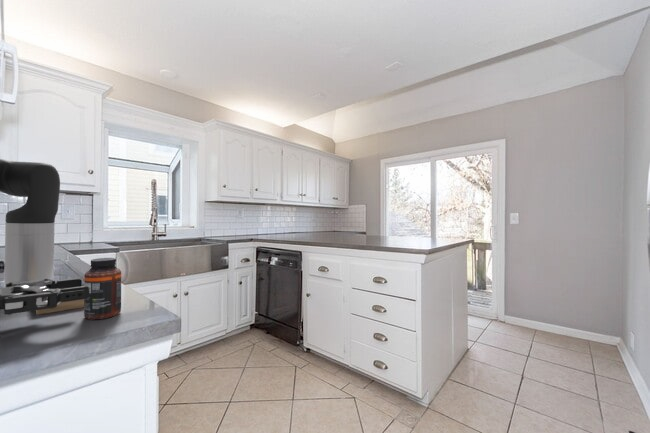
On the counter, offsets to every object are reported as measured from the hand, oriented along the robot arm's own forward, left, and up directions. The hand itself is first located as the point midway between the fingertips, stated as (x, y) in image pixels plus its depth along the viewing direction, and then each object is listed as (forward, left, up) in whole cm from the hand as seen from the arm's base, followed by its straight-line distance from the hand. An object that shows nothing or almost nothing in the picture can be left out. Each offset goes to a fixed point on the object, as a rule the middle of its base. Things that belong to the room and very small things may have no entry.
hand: (84, 287), depth 57 cm
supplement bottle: (0, +3, -6) cm, 7 cm away
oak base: (-13, -2, -6) cm, 14 cm away
